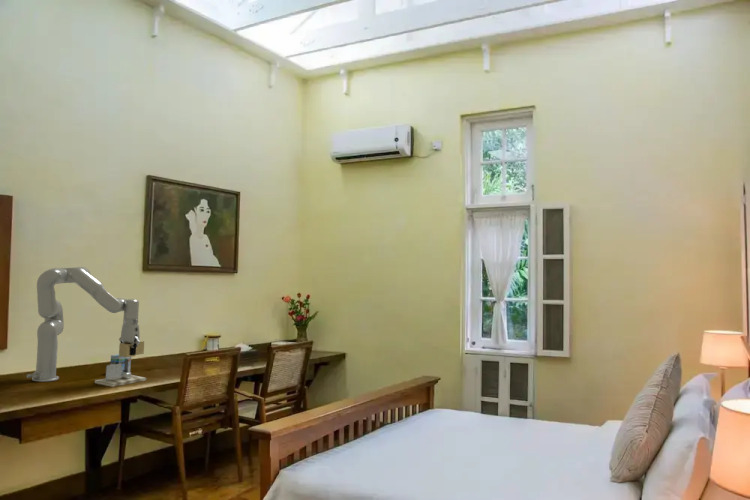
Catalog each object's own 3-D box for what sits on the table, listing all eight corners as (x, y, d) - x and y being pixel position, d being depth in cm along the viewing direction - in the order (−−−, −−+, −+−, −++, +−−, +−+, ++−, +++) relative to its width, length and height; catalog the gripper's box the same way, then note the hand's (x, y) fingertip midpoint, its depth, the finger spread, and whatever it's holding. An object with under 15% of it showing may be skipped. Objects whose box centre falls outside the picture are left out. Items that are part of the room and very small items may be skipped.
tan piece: (126, 357, 323) (127, 344, 324) (118, 356, 326) (119, 343, 326) (146, 354, 336) (147, 342, 336) (139, 353, 339) (140, 340, 339)
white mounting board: (112, 386, 311) (112, 383, 311) (94, 383, 318) (94, 380, 318) (145, 380, 331) (146, 377, 331) (128, 377, 337) (128, 374, 337)
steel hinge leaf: (109, 382, 315) (110, 362, 315) (102, 380, 317) (103, 361, 317) (133, 378, 328) (134, 359, 329) (126, 376, 331) (127, 357, 331)
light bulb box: (119, 375, 342) (120, 356, 342) (109, 373, 343) (110, 355, 343) (130, 371, 352) (131, 353, 353) (120, 370, 354) (121, 352, 354)
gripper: (147, 322, 328) (145, 355, 328) (125, 319, 336) (123, 351, 336) (136, 323, 321) (134, 356, 321) (114, 320, 329) (112, 353, 329)
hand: (128, 353), depth 328 cm, fingers closed on tan piece, 6 cm apart
